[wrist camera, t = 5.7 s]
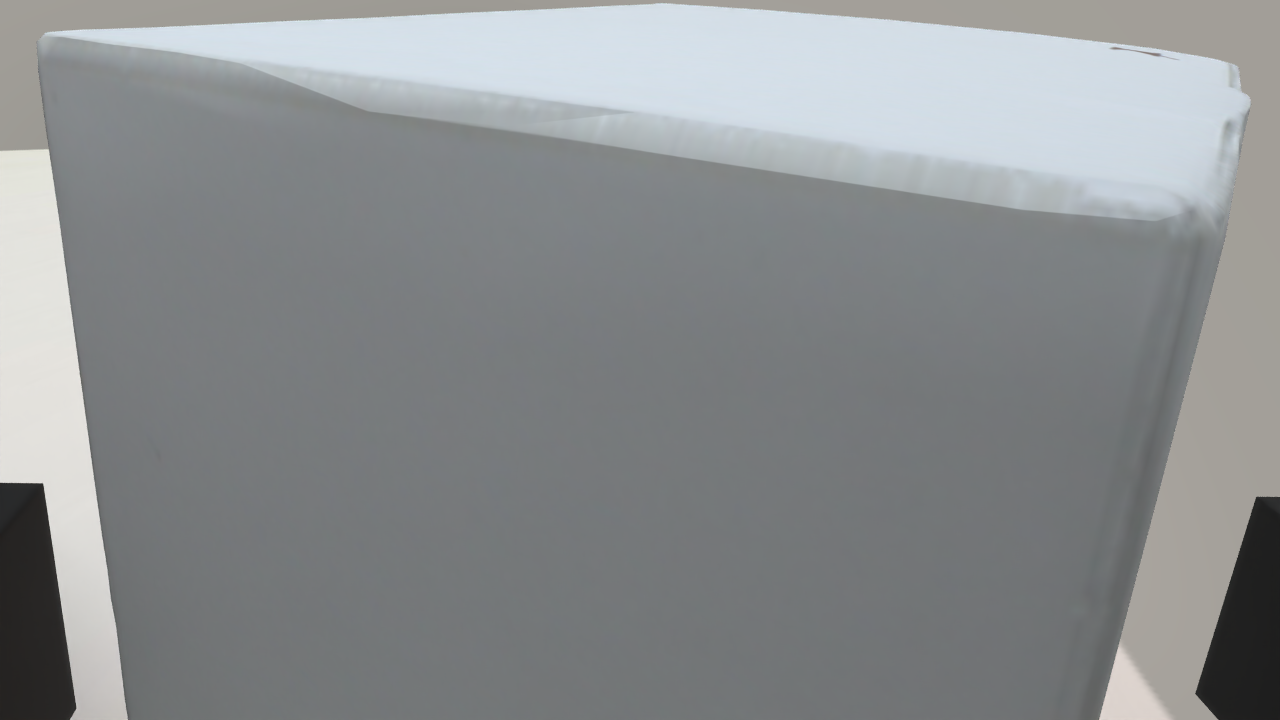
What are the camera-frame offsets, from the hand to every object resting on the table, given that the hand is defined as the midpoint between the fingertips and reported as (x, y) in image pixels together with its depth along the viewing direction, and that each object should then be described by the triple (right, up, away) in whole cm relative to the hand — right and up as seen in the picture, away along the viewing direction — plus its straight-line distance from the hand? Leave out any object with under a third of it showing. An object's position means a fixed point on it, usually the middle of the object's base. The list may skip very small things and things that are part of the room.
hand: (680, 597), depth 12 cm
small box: (0, -7, +1) cm, 7 cm away
